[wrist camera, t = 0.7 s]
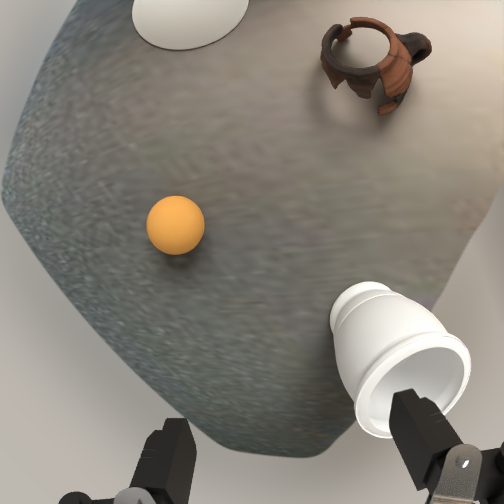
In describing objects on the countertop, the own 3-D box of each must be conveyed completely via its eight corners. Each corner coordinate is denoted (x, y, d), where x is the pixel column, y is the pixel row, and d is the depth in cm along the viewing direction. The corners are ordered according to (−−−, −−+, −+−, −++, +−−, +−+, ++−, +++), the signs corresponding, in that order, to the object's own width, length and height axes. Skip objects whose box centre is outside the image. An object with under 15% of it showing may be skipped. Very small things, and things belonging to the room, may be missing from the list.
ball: (150, 201, 32) (131, 208, 26) (200, 187, 31) (190, 191, 26) (164, 252, 33) (148, 267, 28) (214, 240, 33) (206, 253, 27)
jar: (303, 336, 36) (329, 429, 21) (347, 256, 33) (408, 317, 19) (376, 362, 37) (422, 444, 22) (419, 291, 34) (492, 354, 20)
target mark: (127, -19, 25) (127, -19, 25) (234, -49, 24) (234, -49, 24) (140, 65, 28) (140, 65, 28) (261, 33, 27) (261, 32, 27)
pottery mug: (362, 136, 31) (348, 101, 23) (318, 76, 33) (293, 36, 25) (449, 87, 26) (455, 43, 19) (397, 32, 28) (389, -14, 21)
